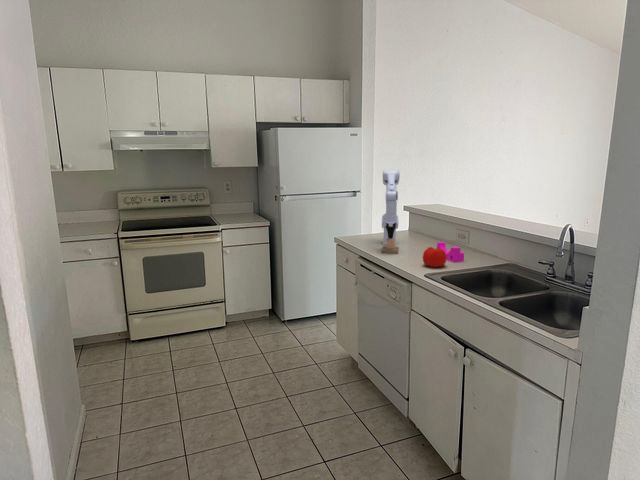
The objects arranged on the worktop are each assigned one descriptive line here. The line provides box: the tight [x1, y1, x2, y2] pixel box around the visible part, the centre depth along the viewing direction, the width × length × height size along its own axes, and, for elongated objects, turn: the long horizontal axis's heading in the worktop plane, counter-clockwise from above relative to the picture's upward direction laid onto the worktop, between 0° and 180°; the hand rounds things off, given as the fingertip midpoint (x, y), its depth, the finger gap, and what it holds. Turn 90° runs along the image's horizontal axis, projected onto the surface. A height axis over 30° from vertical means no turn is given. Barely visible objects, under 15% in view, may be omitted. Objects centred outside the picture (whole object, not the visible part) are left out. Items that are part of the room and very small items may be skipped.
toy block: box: [436, 241, 465, 263], centre depth 236 cm, size 15×6×8 cm, turn 20°
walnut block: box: [381, 245, 400, 255], centre depth 251 cm, size 9×9×3 cm
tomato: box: [422, 246, 447, 269], centre depth 221 cm, size 11×12×9 cm
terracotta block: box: [385, 238, 396, 249], centre depth 250 cm, size 4×4×5 cm
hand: (390, 237), depth 249 cm, fingers open, 7 cm apart
